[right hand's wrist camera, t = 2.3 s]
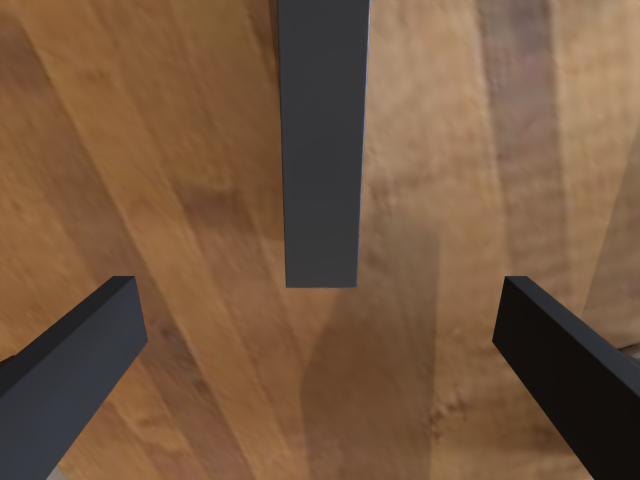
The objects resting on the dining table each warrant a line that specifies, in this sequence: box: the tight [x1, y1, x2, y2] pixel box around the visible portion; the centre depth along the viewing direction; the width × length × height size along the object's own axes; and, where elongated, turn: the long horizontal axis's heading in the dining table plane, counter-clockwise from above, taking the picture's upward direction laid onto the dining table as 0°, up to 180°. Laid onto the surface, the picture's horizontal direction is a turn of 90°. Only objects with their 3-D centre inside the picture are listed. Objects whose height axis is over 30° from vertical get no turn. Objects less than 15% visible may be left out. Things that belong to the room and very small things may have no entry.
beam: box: [277, 0, 371, 288], centre depth 21 cm, size 28×4×8 cm, turn 0°
